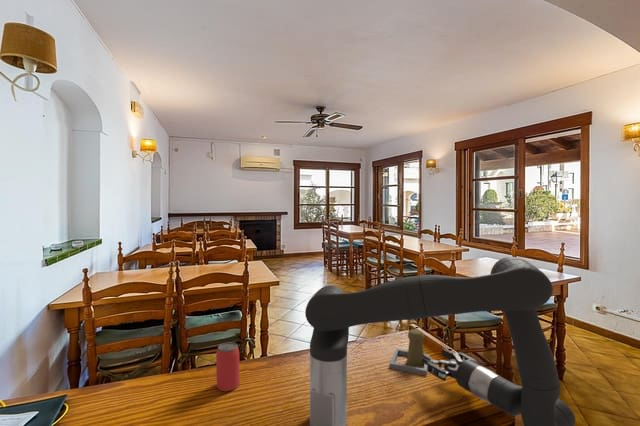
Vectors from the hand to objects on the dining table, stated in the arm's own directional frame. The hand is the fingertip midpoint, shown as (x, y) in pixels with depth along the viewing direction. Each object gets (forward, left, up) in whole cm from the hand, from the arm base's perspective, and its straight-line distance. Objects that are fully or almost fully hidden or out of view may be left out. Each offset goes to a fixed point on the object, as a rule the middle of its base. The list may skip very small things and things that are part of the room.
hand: (432, 354), depth 97 cm
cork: (+7, +6, -7) cm, 12 cm away
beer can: (-29, +56, -7) cm, 63 cm away
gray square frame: (+6, +8, -7) cm, 12 cm away
